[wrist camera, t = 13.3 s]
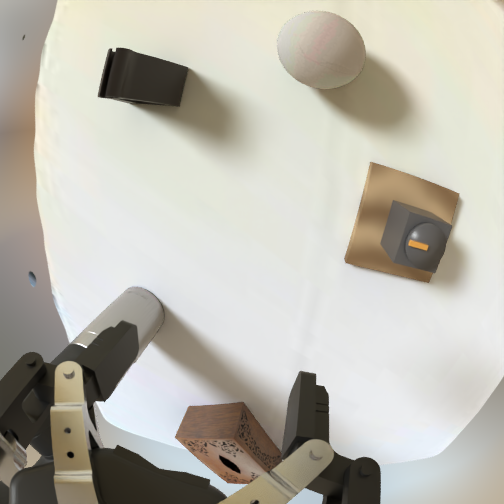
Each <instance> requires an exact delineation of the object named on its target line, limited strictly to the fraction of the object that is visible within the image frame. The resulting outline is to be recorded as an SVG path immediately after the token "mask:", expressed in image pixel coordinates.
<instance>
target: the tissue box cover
mask: <svg viewBox="0 0 504 504" xmlns="http://www.w3.org/2000/svg"><path fill="white" fill-rule="evenodd" d="M175 438H176V439H177V440H178V441H179V442H180V443H181V444H182V445H183V446H185V447H186V448H187V449H188V450H189V451H190V452H191V453H192V454H193V455H194V456H196V457H197V458H198V459H199V460H200V461H201V462H202V463H204V464H205V465H206V466H207V467H208V468H210V469H211V470H212V471H213V472H214V473H216V474H217V475H218V476H219V477H221V478H222V479H223V480H225V481H226V482H227V483H234V484H249V483H251V482H252V481H254V480H255V479H256V478H258V477H259V476H261V475H262V474H264V473H265V472H267V471H270V470H272V469H274V468H275V467H276V466H277V465H279V464H280V463H281V462H282V459H281V452H280V450H279V449H278V448H277V447H276V445H275V444H274V443H273V441H272V440H271V439H270V438H269V436H268V435H267V434H266V432H265V431H264V430H263V428H262V427H261V426H260V424H259V423H258V422H257V420H256V419H255V418H254V416H253V415H252V413H251V412H250V411H249V409H248V408H247V406H246V405H245V404H244V402H240V403H230V404H218V405H203V406H189V407H188V409H187V411H186V413H185V416H184V418H183V420H182V422H181V425H180V427H179V429H178V431H177V434H176V436H175Z"/></svg>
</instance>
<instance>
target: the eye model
mask: <svg viewBox="0 0 504 504" xmlns="http://www.w3.org/2000/svg"><path fill="white" fill-rule="evenodd" d="M277 50H278V55H279V58H280V61H281V63H282V65H283V66H284V68H285V69H286V71H287V72H288V73H289V74H290V75H291V76H292V77H293V78H295V79H296V80H298V81H299V82H301V83H303V84H305V85H307V86H310V87H314V88H319V89H333V88H338V87H341V86H343V85H346V84H348V83H349V82H351V81H352V80H354V79H355V78H356V77H357V76H358V74H359V73H360V72H361V70H362V68H363V66H364V63H365V58H366V51H365V45H364V42H363V39H362V37H361V35H360V33H359V32H358V30H357V29H356V28H355V27H354V26H353V25H352V24H351V23H350V22H349V21H347V20H346V19H344V18H342V17H341V16H339V15H336V14H333V13H330V12H325V11H309V12H305V13H302V14H299V15H297V16H295V17H293V18H292V19H290V20H289V21H287V22H286V23H285V24H284V26H283V27H282V29H281V30H280V32H279V35H278V38H277Z"/></svg>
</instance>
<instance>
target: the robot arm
mask: <svg viewBox="0 0 504 504" xmlns="http://www.w3.org/2000/svg"><path fill="white" fill-rule="evenodd" d="M163 321H164V311H163V308H162V306H161V304H160V302H159V301H158V299H157V298H156V297H155V296H154V295H153V294H152V293H150V292H149V291H147V290H145V289H143V288H140V287H131V288H128V289H127V290H125V291H124V292H123V293H122V294H121V295H120V296H119V297H118V298H117V299H116V300H115V301H113V302H112V303H111V304H110V305H109V306H108V307H107V308H106V309H105V310H104V311H103V312H102V313H101V314H100V315H99V316H98V317H97V318H96V319H95V320H93V321H92V322H91V323H90V324H89V325H88V326H87V327H86V328H85V329H84V330H83V331H82V332H81V333H80V334H79V335H78V336H77V337H76V338H75V339H74V340H73V341H72V342H71V343H70V344H69V345H68V346H67V347H66V348H65V349H64V350H63V351H62V352H61V353H60V354H59V355H58V356H57V357H56V358H55V359H54V360H53V361H52V362H51V363H50V364H49V363H45V362H44V361H43V358H42V357H41V355H39V354H38V353H35V352H29V353H26V354H25V355H23V356H22V357H21V358H20V359H19V360H18V362H17V363H16V364H15V365H14V366H13V367H12V368H11V369H10V370H9V371H8V373H7V374H6V375H5V376H4V377H3V378H2V379H1V381H0V480H1V481H0V504H286V503H288V502H289V501H290V500H291V499H292V498H293V497H295V496H296V495H297V494H298V493H299V492H300V491H301V490H303V489H304V488H307V489H309V490H312V491H314V492H317V493H320V494H323V502H322V504H380V493H381V491H380V490H381V488H380V487H381V485H380V484H381V475H380V474H381V473H380V467H379V465H378V463H377V462H376V461H375V460H373V459H371V458H368V457H361V458H358V459H356V460H355V461H354V460H351V459H349V458H346V457H343V456H341V455H339V454H337V453H336V452H335V451H334V450H333V449H332V447H331V446H330V443H329V414H328V413H329V406H328V405H329V395H328V393H327V391H326V389H325V387H324V386H319V385H316V374H314V373H309V372H303V371H300V372H299V374H298V376H297V378H296V381H295V383H294V385H293V388H292V390H291V393H290V396H289V401H288V408H287V416H286V424H285V432H284V439H283V446H282V453H281V459H283V460H284V461H283V462H281V463H280V464H279V465H277V466H276V467H275V468H274V469H272V470H270V471H267V472H265V473H264V474H262V475H261V476H259V477H258V478H256V479H255V480H254V481H252V482H251V483H249V484H248V485H246V486H245V487H244V488H242V489H240V490H239V491H237V492H236V493H234V494H233V495H231V496H229V497H228V498H227V497H226V495H225V494H223V493H222V492H221V491H219V490H218V489H217V488H215V487H214V486H211V485H210V480H209V479H206V478H203V477H199V476H195V475H193V474H189V473H186V472H178V471H170V470H163V469H159V468H157V467H156V466H154V465H153V464H151V463H150V462H148V461H147V460H146V459H144V458H143V457H141V456H140V455H139V454H136V453H134V452H132V451H130V450H127V449H125V448H123V447H121V446H119V445H117V446H116V448H115V449H110V448H104V447H103V443H102V441H101V438H100V434H99V428H98V422H97V416H96V409H95V404H94V402H95V401H104V402H105V401H106V400H107V399H108V398H109V397H110V396H111V394H112V393H113V391H114V390H115V388H116V387H117V386H118V384H119V383H120V381H121V380H122V379H123V377H124V376H125V374H126V373H127V371H128V370H129V369H130V367H131V366H132V364H133V363H135V362H136V361H137V360H138V358H139V357H140V355H141V354H142V353H143V351H144V350H145V348H146V347H147V346H148V344H149V343H150V342H151V340H152V339H153V337H154V336H155V335H156V333H157V332H158V331H157V330H158V329H159V328H160V326H161V325H162V323H163ZM29 444H30V445H31V446H32V447H33V448H34V449H35V450H37V451H38V452H39V453H40V454H41V455H42V456H41V457H40V459H39V460H38V461H37V462H36V464H35V465H33V466H32V467H28V468H24V467H25V466H26V465H27V461H26V458H27V455H26V451H25V450H26V448H27V447H28V445H29Z"/></svg>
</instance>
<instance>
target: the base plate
mask: <svg viewBox="0 0 504 504" xmlns="http://www.w3.org/2000/svg"><path fill="white" fill-rule="evenodd" d="M458 197H459V193H457V192H454V191H452V190H449V189H447V188H444V187H442V186H439V185H437V184H434V183H432V182H429V181H426V180H424V179H421V178H418V177H415V176H413V175H410V174H407V173H404V172H401V171H398V170H395V169H392V168H389V167H386V166H383V165H379V164H376V163H373V162H370V166H369V170H368V174H367V179H366V183H365V187H364V191H363V195H362V199H361V203H360V206H359V210H358V214H357V218H356V221H355V225H354V228H353V232H352V235H351V239H350V242H349V245H348V249H347V252H346V255H345V258H344V259H345V262H346V263H348V264H352V265H356V266H361V267H365V268H369V269H373V270H378V271H382V272H386V273H390V274H394V275H398V276H403V277H407V278H411V279H415V280H419V281H423V282H427V283H429V281H430V279H431V276H432V274H433V273H432V272H428V271H424V270H420V269H416V268H412V267H408V266H404V265H400V264H396V263H393V262H392V260H391V259H390V257H389V256H388V254H387V253H386V251H385V250H384V248H383V247H382V246H381V244H380V242H381V239H382V236H383V233H384V229H385V226H386V223H387V219H388V216H389V212H390V209H391V205H392V201H393V200H395V201H398V202H402V203H405V204H408V205H411V206H414V207H417V208H420V209H423V210H426V211H429V212H432V213H433V214H435V215H436V216H438V217H440V218H441V219H443V220H444V221H446V222H447V223H449V224H451V221H452V218H453V215H454V211H455V208H456V204H457V201H458Z"/></svg>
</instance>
